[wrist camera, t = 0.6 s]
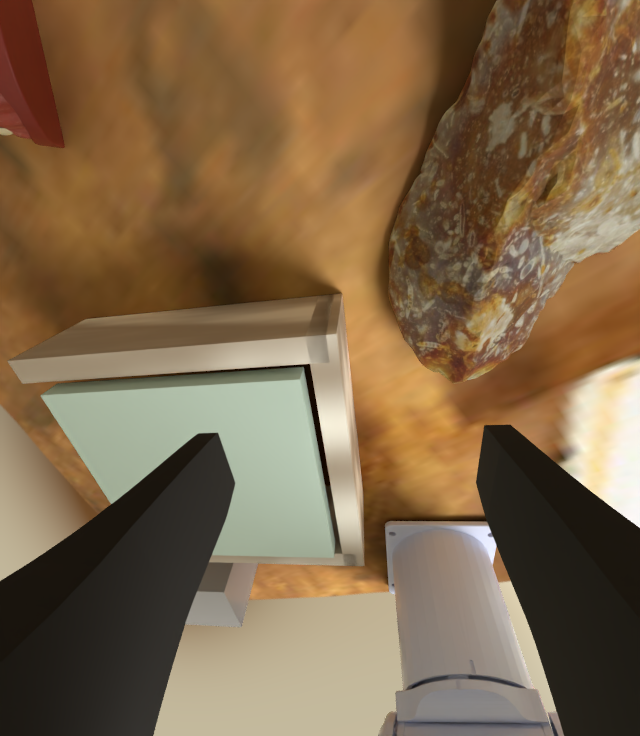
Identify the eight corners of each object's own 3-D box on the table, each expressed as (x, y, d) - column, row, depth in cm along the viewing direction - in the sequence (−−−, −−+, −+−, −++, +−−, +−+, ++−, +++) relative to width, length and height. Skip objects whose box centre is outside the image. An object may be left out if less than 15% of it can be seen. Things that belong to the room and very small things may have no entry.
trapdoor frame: (363, 496, 24) (364, 566, 20) (176, 497, 27) (140, 560, 22) (342, 293, 17) (336, 334, 13) (85, 319, 19) (6, 361, 15)
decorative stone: (982, -114, 7) (570, 416, 16) (770, -36, 10) (532, 361, 19) (498, -160, 7) (367, 388, 16) (452, -69, 10) (366, 339, 19)
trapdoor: (303, 366, 14) (300, 379, 13) (335, 541, 20) (334, 558, 19) (57, 383, 16) (40, 395, 15) (152, 538, 22) (143, 553, 21)
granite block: (258, 563, 30) (241, 627, 26) (206, 561, 31) (182, 624, 27) (244, 528, 28) (224, 592, 24) (189, 527, 29) (159, 589, 24)
